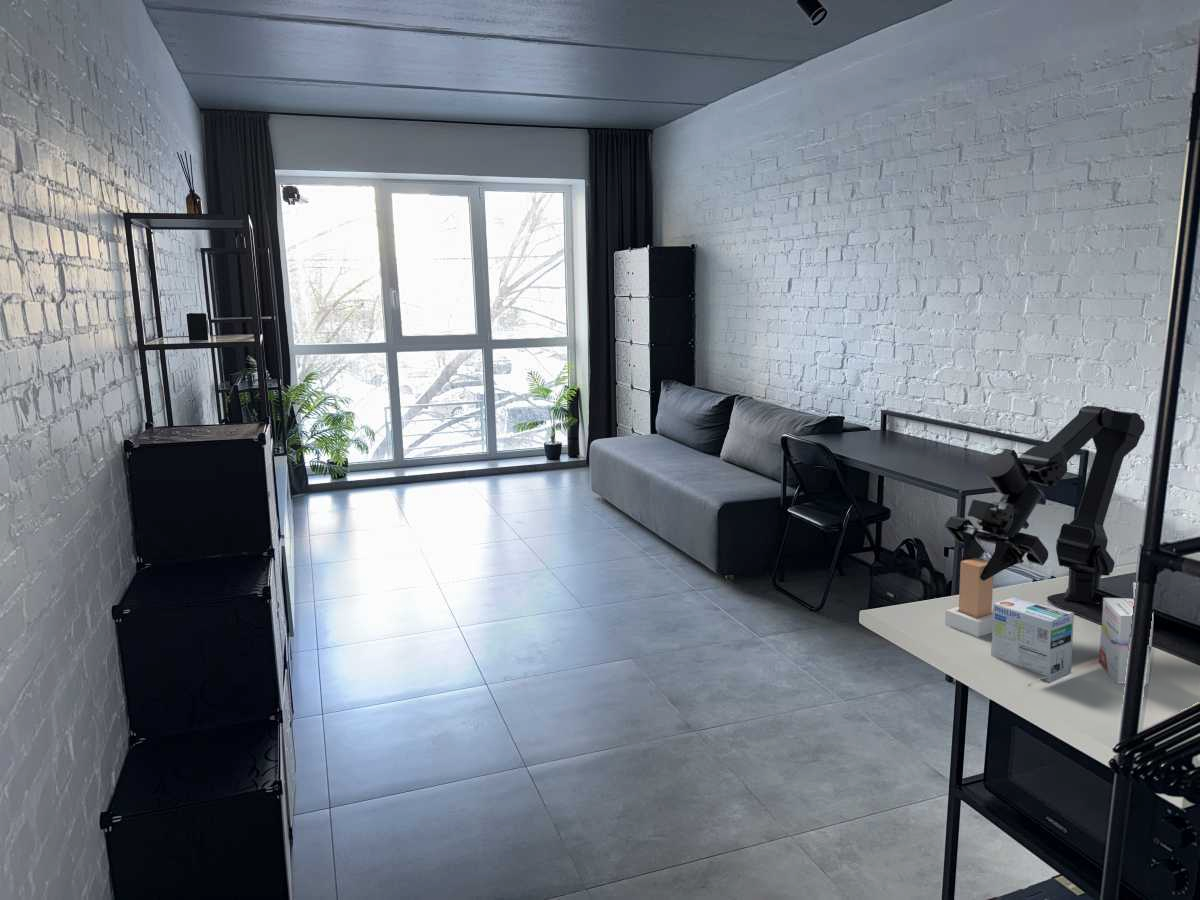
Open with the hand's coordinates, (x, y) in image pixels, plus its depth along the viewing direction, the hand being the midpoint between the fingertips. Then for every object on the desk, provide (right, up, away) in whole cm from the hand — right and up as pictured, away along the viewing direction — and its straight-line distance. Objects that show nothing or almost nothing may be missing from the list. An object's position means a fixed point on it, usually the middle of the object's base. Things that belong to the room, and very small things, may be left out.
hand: (971, 576), depth 158 cm
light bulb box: (+4, -14, -13) cm, 19 cm away
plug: (+1, -7, +2) cm, 8 cm away
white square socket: (+2, -10, +2) cm, 10 cm away
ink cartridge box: (+18, -14, -16) cm, 28 cm away
